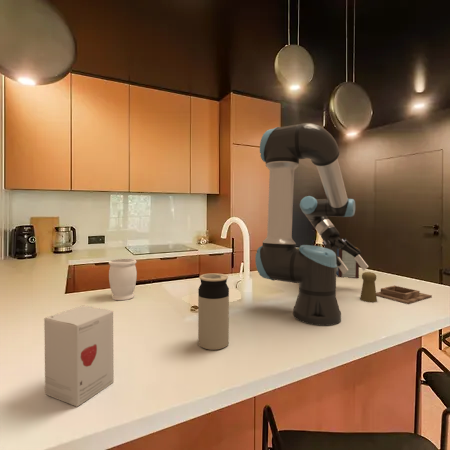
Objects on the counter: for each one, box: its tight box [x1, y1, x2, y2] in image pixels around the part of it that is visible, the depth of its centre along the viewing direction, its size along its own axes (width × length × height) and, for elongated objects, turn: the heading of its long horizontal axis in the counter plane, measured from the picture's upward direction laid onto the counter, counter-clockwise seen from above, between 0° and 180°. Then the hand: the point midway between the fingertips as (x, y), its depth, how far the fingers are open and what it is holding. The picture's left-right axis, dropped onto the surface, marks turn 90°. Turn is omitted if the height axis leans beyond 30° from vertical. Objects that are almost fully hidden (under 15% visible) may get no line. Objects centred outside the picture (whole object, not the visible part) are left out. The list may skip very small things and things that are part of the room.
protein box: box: [336, 247, 360, 279], centre depth 165 cm, size 10×15×16 cm
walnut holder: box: [376, 285, 433, 305], centre depth 124 cm, size 18×14×3 cm
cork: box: [359, 271, 378, 303], centre depth 118 cm, size 6×6×11 cm
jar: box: [108, 258, 138, 301], centre depth 120 cm, size 11×10×15 cm
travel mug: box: [197, 272, 230, 351], centre depth 78 cm, size 8×8×18 cm
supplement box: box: [43, 304, 115, 408], centre depth 58 cm, size 9×9×15 cm
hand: (356, 270), depth 124 cm, fingers open, 13 cm apart
